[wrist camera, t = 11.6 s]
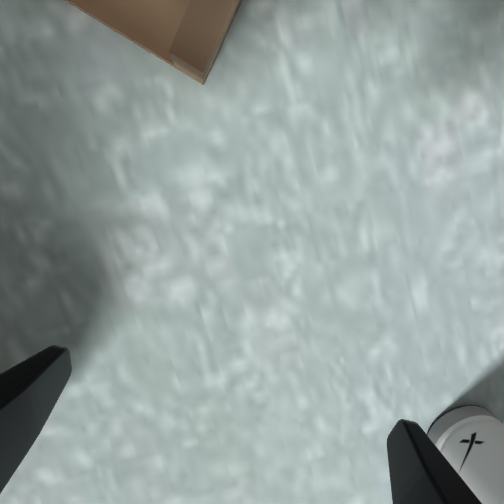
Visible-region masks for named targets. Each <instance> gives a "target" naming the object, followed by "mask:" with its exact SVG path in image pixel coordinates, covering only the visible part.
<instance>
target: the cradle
mask: <svg viewBox="0 0 504 504" xmlns="http://www.w3.org/2000/svg"><path fill="white" fill-rule="evenodd" d="M65 1H67V2H69V3H70V4H72V5H73V6H75V7H77V8H78V9H80V10H82V11H83V12H85V13H87V14H88V15H90V16H91V17H93V18H95V19H96V20H98V21H100V22H101V23H103V24H105V25H106V26H108V27H110V28H111V29H113V30H114V31H116V32H118V33H119V34H121V35H123V36H124V37H126V38H128V39H129V40H131V41H133V42H134V43H136V44H137V45H139V46H141V47H142V48H144V49H146V50H147V51H149V52H151V53H152V54H154V55H155V56H157V57H159V58H160V59H162V60H164V61H165V62H167V63H169V64H170V65H172V66H174V67H175V68H177V69H178V70H180V71H182V72H183V73H185V74H187V75H188V76H190V77H192V78H193V79H195V80H197V81H198V82H200V83H201V84H204V82H205V80H206V78H207V76H208V73H209V71H210V69H211V67H212V65H213V62H214V60H215V58H216V56H217V54H218V51H219V49H220V47H221V45H222V43H223V41H224V38H225V36H226V34H227V32H228V30H229V27H230V25H231V23H232V21H233V19H234V16H235V14H236V12H237V10H238V8H239V6H240V3H241V1H242V0H65Z"/></svg>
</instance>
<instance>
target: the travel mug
mask: <svg viewBox="0 0 504 504" xmlns="http://www.w3.org/2000/svg"><path fill="white" fill-rule="evenodd" d="M427 436H428V437H429V438H430V439H431V441H432V442H433V443H434V444H435V446H436V447H437V448H438V449H439V451H440V452H441V453H442V454H443V456H444V457H445V458H446V459H447V461H448V462H449V463H450V464H451V466H452V467H453V468H454V469H455V470H456V472H457V473H458V474H459V475H460V477H461V478H462V479H463V480H464V482H465V483H466V484H467V485H468V487H469V488H470V489H471V490H472V492H473V493H474V494H475V495H476V497H477V498H478V499H479V500H480V502H481V503H482V504H504V426H503V424H502V423H501V422H500V421H499V420H498V419H497V418H496V417H495V416H494V415H493V414H492V413H491V412H489V411H488V410H487V409H485V408H482V407H479V406H464V407H459V408H456V409H454V410H451V411H449V412H448V413H446V414H444V415H443V416H442V417H440V418H439V419H438V420H437V421H436V422H435V423H434V424H433V426H432V427H431V429H430V431H429V432H428V435H427Z"/></svg>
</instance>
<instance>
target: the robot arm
mask: <svg viewBox="0 0 504 504" xmlns="http://www.w3.org/2000/svg"><path fill="white" fill-rule="evenodd" d="M71 371H72V366H71V358H70V351H69V349H68V348H66V347H61V346H56V345H53V346H50V347H48V348H46V349H44V350H42V351H41V352H39V353H37V354H35V355H34V356H32V357H30V358H28V359H26V360H25V361H23V362H21V363H19V364H17V365H16V366H14V367H12V368H10V369H9V370H7V371H5V372H3V373H1V374H0V493H1V492H2V490H3V489H4V487H5V486H6V484H7V483H8V481H9V480H10V478H11V477H12V475H13V474H14V472H15V471H16V469H17V468H18V466H19V465H20V463H21V462H22V460H23V458H24V457H25V455H26V454H27V452H28V451H29V449H30V448H31V446H32V445H33V443H34V442H35V440H36V438H37V437H38V435H39V434H40V432H41V430H42V428H43V426H44V425H45V423H46V421H47V419H48V417H49V415H50V413H51V411H52V410H53V408H54V406H55V404H56V402H57V400H58V398H59V396H60V394H61V393H62V391H63V389H64V387H65V385H66V383H67V381H68V379H69V377H70V375H71ZM387 452H388V462H389V471H390V481H391V491H392V500H393V504H482V503H481V502H480V500H479V499H478V498H477V497H476V495H475V494H474V493H473V492H472V490H471V489H470V488H469V487H468V485H467V484H466V483H465V482H464V480H463V479H462V478H461V477H460V475H459V474H458V473H457V472H456V470H455V469H454V468H453V467H452V466H451V464H450V463H449V462H448V461H447V459H446V458H445V457H444V456H443V454H442V453H441V452H440V451H439V449H438V448H437V447H436V446H435V444H434V443H433V442H432V441H431V439H430V438H429V437H428V436H427V434H426V433H425V432H424V431H423V429H422V428H421V427H420V426H419V425H418V424H417V423H416V422H413V421H409V420H404V419H401V420H399V421H398V422H397V423H396V425H395V426H394V428H393V429H392V431H391V432H390V434H389V436H388V438H387Z"/></svg>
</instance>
